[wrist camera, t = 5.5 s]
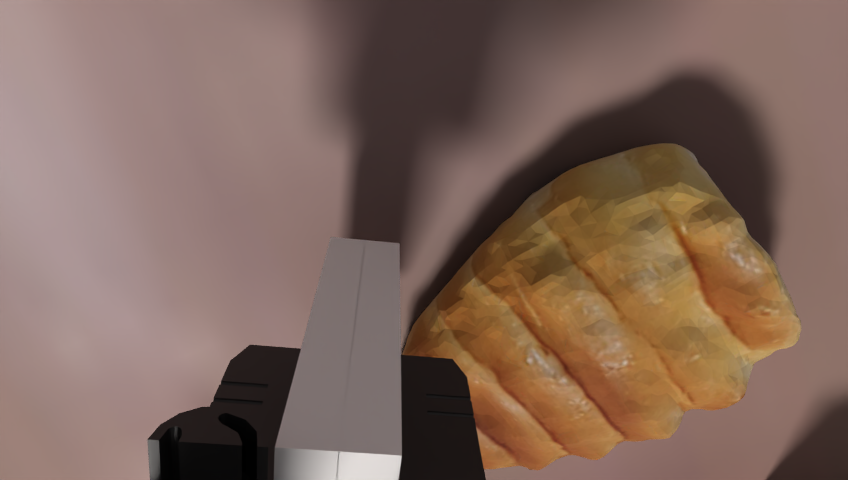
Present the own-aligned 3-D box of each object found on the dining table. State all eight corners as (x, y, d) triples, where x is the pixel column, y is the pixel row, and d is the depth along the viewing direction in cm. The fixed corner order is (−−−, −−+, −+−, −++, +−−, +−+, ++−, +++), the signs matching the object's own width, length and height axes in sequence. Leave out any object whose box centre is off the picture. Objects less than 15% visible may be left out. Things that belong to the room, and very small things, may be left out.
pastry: (484, 471, 18) (504, 587, 15) (335, 316, 16) (317, 410, 12) (770, 296, 16) (873, 381, 13) (645, 92, 14) (728, 127, 11)
